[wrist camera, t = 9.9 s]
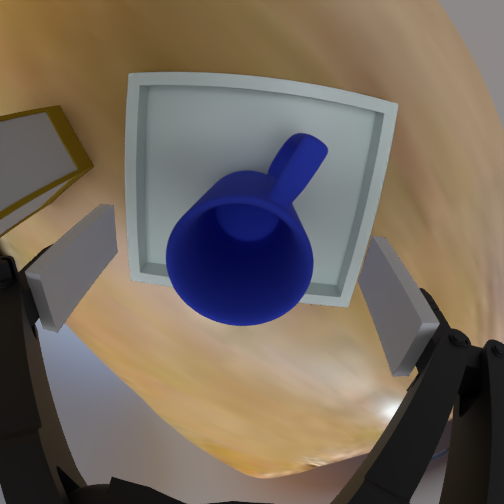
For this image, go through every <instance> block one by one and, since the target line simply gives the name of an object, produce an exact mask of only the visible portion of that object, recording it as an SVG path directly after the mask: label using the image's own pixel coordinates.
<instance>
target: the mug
mask: <svg viewBox="0 0 504 504" xmlns="http://www.w3.org/2000/svg"><path fill="white" fill-rule="evenodd" d="M327 154H328V148H327V146H326V145H325V144H324V143H323V142H322V141H320V140H319V139H317V138H316V137H314V136H312V135H309V134H306V133H297V134H294V135H292V136H291V137H290V138H289V139H288V140H287V141H286V142H285V143H284V144H283V146H282V147H281V148H280V150H279V151H278V153H277V155H276V156H275V158H274V160H273V161H272V163H271V165H270V167H269V170H268V173H267V175H266V174H264V173H261V172H257V171H238V172H234V173H231V174H229V175H226V176H225V177H223V178H221V179H220V180H219V181H217V182H216V183H215V184H214V185H213V186H212V187H211V188H210V189H209V190H208V191H207V192H206V193H205V194H204V195H203V196H202V197H201V198H200V199H199V200H198V201H197V202H196V203H195V204H194V205H193V206H192V207H191V208H190V209H189V210H188V211H187V212H186V213H185V214H184V215H183V216H182V217H181V218H180V219H179V221H178V222H177V223H176V225H175V226H174V228H173V230H172V232H171V234H170V237H169V239H168V243H167V248H166V267H167V272H168V276H169V278H170V281H171V283H172V285H173V287H174V289H175V290H176V292H177V293H178V295H179V296H180V297H181V299H182V300H183V301H184V302H185V303H186V304H187V305H188V306H190V307H191V308H192V309H193V310H195V311H196V312H198V313H199V314H201V315H203V316H205V317H207V318H209V319H211V320H214V321H216V322H220V323H224V324H228V325H236V326H249V325H257V324H262V323H265V322H269V321H272V320H274V319H276V318H278V317H280V316H282V315H284V314H285V313H287V312H288V311H290V310H291V309H292V308H293V307H294V306H295V305H296V304H297V303H298V302H299V301H300V300H301V298H302V297H303V296H304V294H305V293H306V291H307V289H308V287H309V284H310V282H311V278H312V274H313V267H314V259H313V251H312V247H311V244H310V241H309V238H308V236H307V234H306V232H305V230H304V228H303V225H302V223H301V221H300V219H299V217H298V215H297V213H296V211H295V208H294V206H293V204H292V202H293V201H294V200H295V199H296V198H297V197H298V196H299V195H300V193H301V192H302V191H303V190H304V189H305V187H306V186H307V184H308V183H309V182H310V180H311V179H312V177H313V176H314V174H315V173H316V172H317V170H318V169H319V167H320V165H321V164H322V162H323V161H324V159H325V157H326V156H327Z"/></svg>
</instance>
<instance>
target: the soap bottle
mask: <svg viewBox="0 0 504 504" xmlns="http://www.w3.org/2000/svg"><path fill="white" fill-rule="evenodd" d="M93 167H94V166H93V164H92V162H91V160H90V159H89V157H88V155H87V154H86V152H85V150H84V149H83V147H82V145H81V143H80V142H79V140H78V138H77V136H76V135H75V133H74V131H73V129H72V127H71V126H70V124H69V122H68V120H67V118H66V117H65V115H64V113H63V111H62V109H61V107H60V105H59V106H52V107H46V108H40V109H34V110H28V111H23V112H18V113H13V114H9V115H4V116H0V238H1V237H2V236H3V235H5V234H6V233H8V232H9V231H10V230H12V229H13V228H15V227H16V226H17V225H19V224H20V223H22V222H23V221H25V220H26V219H28V218H29V217H31V216H32V215H34V214H35V213H37V212H38V211H40V210H41V209H43V208H44V207H46V206H48V205H49V204H50V203H52V202H53V201H54V200H55V199H56V198H57V197H58V196H59V195H60V194H62V193H63V192H64V191H65V190H66V189H67V188H68V187H70V186H71V185H72V184H73V183H74V182H76V181H77V180H78V179H79V178H80V177H81V176H83V175H84V174H85V173H86V172H88V171H89V170H90V169H91V168H93Z"/></svg>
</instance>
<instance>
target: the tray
mask: <svg viewBox="0 0 504 504" xmlns="http://www.w3.org/2000/svg"><path fill="white" fill-rule="evenodd" d="M397 110H398V104H396V103H393V102H389V101H386V100H382V99H378V98H374V97H370V96H366V95H362V94H358V93H354V92H349V91H345V90H340V89H335V88H330V87H325V86H320V85H315V84H309V83H303V82H297V81H290V80H283V79H275V78H267V77H258V76H248V75H237V74H223V73H203V72H142V73H129V76H128V89H127V104H126V124H125V205H126V227H127V243H128V256H129V267H130V277H131V281H137V282H144V283H150V284H157V285H163V286H170V287H173V285H172V283H171V281H170V278H169V276H168V272H167V267H166V248H167V243H168V239H169V237H170V234H171V232H172V230H173V228H174V226H175V225H176V223H177V222H178V221H179V219H180V218H181V217H182V216H183V215H184V214H185V213H186V212H187V211H188V210H189V209H190V208H191V207H192V206H193V205H194V204H195V203H196V202H197V201H198V200H199V199H200V198H201V197H202V196H203V195H204V194H205V193H206V192H207V191H208V190H209V189H210V188H211V187H212V186H213V185H214V184H215V183H216V182H217V181H219V180H220V179H221V178H223V177H225V176H226V175H229V174H231V173H234V172H238V171H257V172H261V173H264V174H266V175H267V173H268V170H269V167H270V165H271V163H272V161H273V160H274V158H275V156H276V155H277V153H278V151H279V150H280V148H281V147H282V146H283V144H284V143H285V142H286V141H287V140H288V139H289V138H290V137H291V136H292V135H294V134H297V133H306V134H309V135H312V136H314V137H316V138H317V139H319V140H320V141H322V142H323V143H324V144H325V145H326V146H327V148H328V154H327V156H326V157H325V159H324V161H323V162H322V164H321V165H320V167H319V169H318V170H317V172H316V173H315V174H314V176H313V177H312V179H311V180H310V182H309V183H308V184H307V186H306V187H305V189H304V190H303V191H302V192H301V193H300V195H299V196H298V197H297V198H296V199H295V200H294V201H293V202H292V204H293V206H294V208H295V211H296V213H297V215H298V217H299V219H300V221H301V223H302V225H303V228H304V230H305V232H306V234H307V236H308V238H309V241H310V244H311V247H312V251H313V259H314V267H313V274H312V278H311V282H310V284H309V287H308V289H307V291H306V293H305V294H304V296H303V297H302V298H301V300H300V301H299V302H298V303H308V304H318V305H328V306H339V307H348V305H349V302H350V299H351V296H352V293H353V290H354V287H355V284H356V281H357V278H358V275H359V271H360V268H361V265H362V261H363V258H364V255H365V251H366V248H367V244H368V241H369V237H370V234H371V230H372V226H373V222H374V219H375V215H376V211H377V207H378V203H379V199H380V195H381V190H382V186H383V182H384V177H385V173H386V168H387V164H388V159H389V154H390V149H391V144H392V139H393V133H394V128H395V122H396V116H397Z"/></svg>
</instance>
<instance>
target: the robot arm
mask: <svg viewBox="0 0 504 504" xmlns="http://www.w3.org/2000/svg"><path fill="white" fill-rule="evenodd" d="M117 252H118V251H117V241H116V230H115V218H114V205H108V204H100V205H99V206H98V207H97V208H95V209H94V210H93V211H92V212H90V213H89V214H88V215H87V216H86V217H84V218H83V219H82V220H81V221H80V222H78V223H77V224H76V225H75V226H74V227H73V228H71V229H70V230H69V231H68V232H67V233H66V234H65V235H63V236H62V237H61V238H60V239H59V240H58V241H57V242H56V243H54V244H52V245H50V246H48V247H46V248H44V249H43V250H42V251H41V252H40V253H38V254H37V256H35V257H34V258H33V259H32V261H30V262H29V263H28V264H27V265H26V266H25V267H24V268H23V269H22V270H21V271H19V272H18V271H17V268H16V264H15V260H14V258H13V257H11V256H0V484H1V488H2V491H3V495H4V498H5V501H6V504H186V503H183V502H181V501H179V500H176V499H174V498H172V497H169V496H167V495H165V494H163V493H161V492H158V491H156V490H154V489H152V488H150V487H147V486H143V485H139V484H135V483H132V482H128V481H124V480H121V479H118V478H114V477H112V478H111V481H110V484H97V485H90V486H87V484H86V482H85V480H84V479H83V477H82V476H81V474H80V473H79V471H78V469H77V467H76V465H75V462H74V460H73V457H72V455H71V452H70V450H69V447H68V445H67V441H66V439H65V436H64V433H63V430H62V427H61V424H60V421H59V418H58V415H57V412H56V409H55V405H54V401H53V398H52V394H51V391H50V387H49V383H48V379H47V375H46V371H45V366H44V362H43V357H42V352H41V348H40V342H39V337H38V331H37V328H36V325H35V323H36V321H37V320H38V319H39V318H40V321H41V323H42V326H43V328H44V329H46V330H50V331H53V332H57V333H58V332H59V330H60V328H61V327H62V326H63V324H64V323H65V321H66V320H67V319H68V317H69V316H70V314H71V313H72V312H73V310H74V309H75V307H76V306H77V305H78V303H79V302H80V300H81V299H82V298H83V296H84V295H85V294H86V292H87V291H88V290H89V288H90V287H91V286H92V284H93V283H94V282H95V280H96V279H97V278H98V276H99V275H100V274H101V273H102V271H103V270H104V269H105V267H106V266H107V265H108V264H109V262H110V261H111V260H112V259H113V257H114V256H115V255H116V254H117ZM358 283H359V285H360V288H361V290H362V293H363V295H364V298H365V300H366V303H367V305H368V308H369V311H370V313H371V316H372V319H373V321H374V324H375V327H376V330H377V332H378V335H379V338H380V341H381V344H382V346H383V349H384V352H385V355H386V358H387V361H388V364H389V367H390V370H391V373H392V376H409V375H410V373H411V372H412V370H413V369H414V367H415V365H416V367H417V370H418V372H419V373H418V374H417V376H416V377H415V379H414V380H413V382H412V383H411V385H410V386H409V388H408V389H407V391H408V392H407V394H406V396H405V397H404V399H403V401H402V403H401V404H400V406H399V408H398V409H397V411H396V413H395V414H394V416H393V418H392V419H391V421H390V423H389V424H388V426H387V427H386V429H385V431H384V432H383V434H382V435H381V437H380V438H379V440H378V441H377V443H376V444H375V446H374V447H373V449H372V450H371V452H370V453H369V454H368V456H367V457H366V459H365V460H364V461H363V463H362V464H361V466H360V467H359V468H358V470H357V471H356V472H355V474H354V475H353V476H352V478H351V479H350V480H349V481H348V483H347V484H346V485H345V487H344V488H343V489H342V490H341V491H340V493H339V494H338V495H337V496H336V498H335V499H334V500H333V501H332V502H331V503H330V504H410V503H409V502H410V499H411V497H412V495H413V493H414V491H415V489H416V488H417V486H418V484H419V482H420V480H421V478H422V476H423V474H424V472H425V470H426V468H427V466H428V464H429V462H430V460H431V458H432V456H433V454H434V452H435V449H436V447H437V445H438V443H439V440H440V438H441V436H442V433H443V431H444V428H445V426H446V423H447V421H448V418H449V416H450V413H451V410H452V407H453V405H454V407H453V420H452V431H451V439H450V447H449V454H448V461H447V467H446V473H445V478H444V483H443V488H442V493H441V497H440V502H439V504H504V344H503V343H501V342H499V341H497V340H488V341H487V342H486V344H485V346H484V347H483V348H480V347H476V346H472V345H471V342H470V340H469V338H468V337H467V336H466V335H465V334H464V333H462V332H461V331H459V330H457V329H452V328H450V326H449V324H448V322H447V321H446V319H445V317H444V316H443V314H442V312H441V311H439V308H438V306H437V304H436V303H435V301H434V300H433V298H432V296H431V295H430V294H429V293H428V292H426V291H425V290H424V289H423V288H418V286H417V284H416V283H415V281H414V280H413V278H412V276H411V275H410V273H409V272H408V270H407V269H406V267H405V266H404V264H403V263H402V261H401V260H400V258H399V257H398V255H397V254H396V252H395V251H394V249H393V248H392V246H391V245H390V243H389V242H388V240H387V239H386V238H385V237H378V236H372V238H371V242H370V245H369V248H368V252H367V255H366V258H365V261H364V265H363V268H362V271H361V274H360V277H359V280H358ZM209 504H271V503H249V502H238V501H230V502H220V503H209Z"/></svg>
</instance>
